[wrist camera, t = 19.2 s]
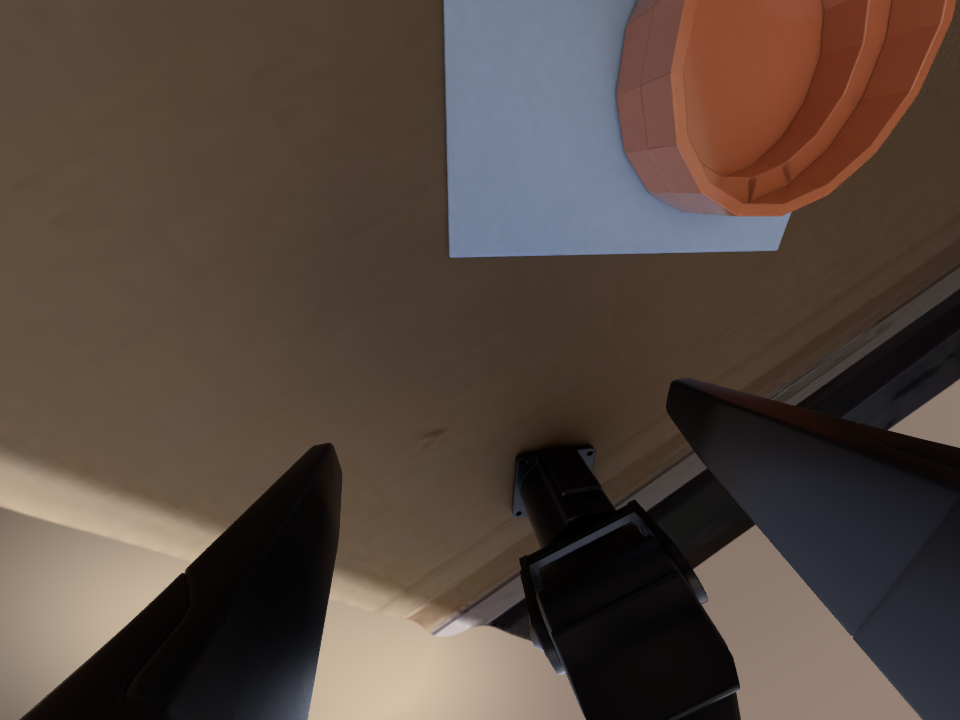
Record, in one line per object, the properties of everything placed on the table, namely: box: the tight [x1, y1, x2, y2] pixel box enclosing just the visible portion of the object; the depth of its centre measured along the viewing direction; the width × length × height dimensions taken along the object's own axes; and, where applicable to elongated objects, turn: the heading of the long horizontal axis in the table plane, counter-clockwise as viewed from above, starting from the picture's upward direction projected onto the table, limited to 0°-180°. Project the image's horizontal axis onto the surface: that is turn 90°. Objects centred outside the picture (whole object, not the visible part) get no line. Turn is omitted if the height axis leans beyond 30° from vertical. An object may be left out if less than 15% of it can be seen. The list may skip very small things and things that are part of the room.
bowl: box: [616, 0, 956, 217], centre depth 17 cm, size 13×13×4 cm
